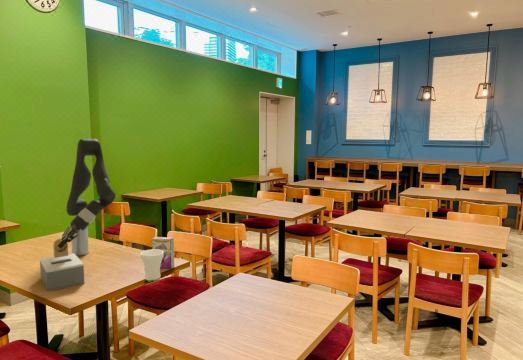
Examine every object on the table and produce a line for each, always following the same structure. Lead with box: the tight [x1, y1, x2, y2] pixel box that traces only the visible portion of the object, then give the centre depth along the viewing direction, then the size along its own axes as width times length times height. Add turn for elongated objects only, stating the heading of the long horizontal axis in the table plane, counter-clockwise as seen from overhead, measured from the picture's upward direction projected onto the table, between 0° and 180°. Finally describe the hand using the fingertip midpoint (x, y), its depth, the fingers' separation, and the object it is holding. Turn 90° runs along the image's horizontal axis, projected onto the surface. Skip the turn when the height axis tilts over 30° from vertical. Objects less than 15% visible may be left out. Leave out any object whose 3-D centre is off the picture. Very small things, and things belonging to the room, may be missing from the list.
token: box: [52, 238, 69, 258], centre depth 189 cm, size 2×6×8 cm, turn 128°
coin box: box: [39, 253, 85, 292], centre depth 191 cm, size 20×16×10 cm
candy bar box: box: [151, 236, 175, 269], centre depth 211 cm, size 11×5×16 cm, turn 84°
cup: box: [140, 248, 164, 283], centre depth 193 cm, size 11×11×14 cm
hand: (58, 246), depth 188 cm, fingers closed on token, 2 cm apart
